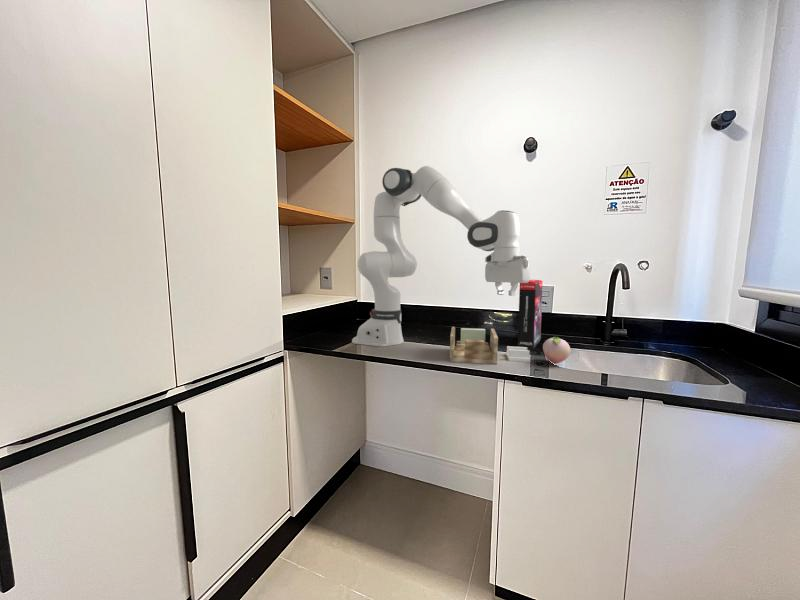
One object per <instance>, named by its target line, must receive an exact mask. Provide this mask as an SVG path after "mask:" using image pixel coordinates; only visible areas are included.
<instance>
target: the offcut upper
mask: <svg viewBox="0 0 800 600" xmlns="http://www.w3.org/2000/svg"><path fill="white" fill-rule="evenodd" d="M465 348H466V350H476V351H484V341H483V340H469V339H466V340H465Z"/></svg>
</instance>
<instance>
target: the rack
mask: <svg viewBox="0 0 800 600" xmlns="http://www.w3.org/2000/svg"><path fill="white" fill-rule="evenodd" d="M449 337H450V339H449V340H450V341H449V343H450V344H449V362H454V363H455V362H456V363H469V364H470V363H473V364H488V365H498V354H499V353H498V348H499V337H498V335H497V332H496V330H495V328H490V342H485V345H484V351H482V359H468V358H464V350H465V344H460V342H461V340H456V327H455V326H451V330H450V335H449ZM455 344H456V345H455Z"/></svg>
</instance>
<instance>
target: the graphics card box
mask: <svg viewBox="0 0 800 600" xmlns="http://www.w3.org/2000/svg"><path fill="white" fill-rule="evenodd" d="M518 291H519V298H518V300H519V301H518V331H517V347H527V349H535V348H536V346H537V345H538V344H539V342H540V341H541V338H542V335H541V333H542V308H543V307H542V306H543V280H540V279H530V280H529V282H528V283H519V290H518Z"/></svg>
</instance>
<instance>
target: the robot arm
mask: <svg viewBox="0 0 800 600" xmlns="http://www.w3.org/2000/svg"><path fill="white" fill-rule="evenodd" d="M382 187H383V189H384V191H382V192H379V193H378V194H377V195H376V196H375V198H374V203H373V204H374V206H373V237H374V238H375V239H376V241H378V242H379V243H381V244H383V245H384V247H385V248H386V251H378V250H377V251H368V252H363V253H362V254H360V256H359V258H358V260H357V268H358V271H359V272H358V273H360V275H362V276H363V277H364V278H365V279H366V280H367V281H368V283H370V285H371V288H372V290H373V297H374V308H372V309H371V310H370V311H369V315H370V318H369V319H367V320H366V321H365V322H364V323H362V324H361V325H360V326H359V327H358V330H357V333H356V336H354V337H353V338H351V343H352V344H353V345H354V344H356V345H364V346H371V347H373V346H374V347H383V348H384V347H389V346H395V345H396V346H397V345H400V344H403V343H404V341H405V340H404V337H403V332H402V325H401V324H402V309H401V292H400V290H399V289H398V288H397V287H396V286H393V285H391V284H390V282H389V280H388V279H389V278H404V277H409V276H413V274H415V272H416V270H417V265H418V263H417V260H416V257H415V256H414V254H412V253H411V252H410V251H409V250H408V249H407V248H406V246H405V244H404V242H403V239H402V235H401V234H402V233H401V224H400V223H401V222H400V221H401V218H400V209H401V206H402V207H406V206H408V205H410V204H413V203H416V202H418V201H419V200H420V199H421V197H422V198H423V199H424V200H425V201H427V203H428V204H430V205H431V207H433V208H434V209H436V210H437V211H439V212H441V213H444V214H446V215H448V216H450V217H452V218H454V219H455V220H457V221H458V222H460V223H461V224H462V225H463V226H464V227H465V228H466V229H467V230H468V231H467V237H466V238H467V241H468V243H469V244H470V245H471V246H472V247H474V248H477V249H480V250H482V251H484V252H491V253H490V254H488V255H487V256H485V258H484V262H485V263H486V264H485V267H484V277H485V281H486V282H487V283H494V286H495V288H496V292H497V293H496V294H497V295H500V296H503V295H504V292H505V291H504V289H503V288H502V285H503V283H509V284H510V290H508V296H510V297H511V296H512V297H514V296H516V291H517V289H518V287H519V284H520V283H528V282H529V280H531V271H530V265H529V259H528V258H527V257H526V255H520V252H521V250H520V249H521V247H520V236H521V224H520V223H521V222H520V216H519V215H518V214H517V213H516V212H514V211H511V210H505V209H503V210H497V211H496V212H495V213H494V214H492V215H491V216H489V217H487V218H486V219H483V220H482V218H481V217H479V216H478V214H476V213H475V212H474V211H473V210H472V209H471V208H470V207H469V206H468V204H467V203H466V201H464V199H463V197H462V196H461V195H460V194H459V192H458V191H457V189H456V187H454V185H453V184H452V183H451V182H450V180H448V179H447V178H446V177H445V176H444V175H443V174H442V173H441V172H439V171H438V170H436V169H434V168H433V167H432V166H429V165H423V166H421V167H420V168H418V169H417V170H416V172H413V173H412V171H411V170H410V169H405V168H400V167H393V168H388V170H386V172H385V173H384V175H383V177H382ZM492 251H493V252H492Z"/></svg>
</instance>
